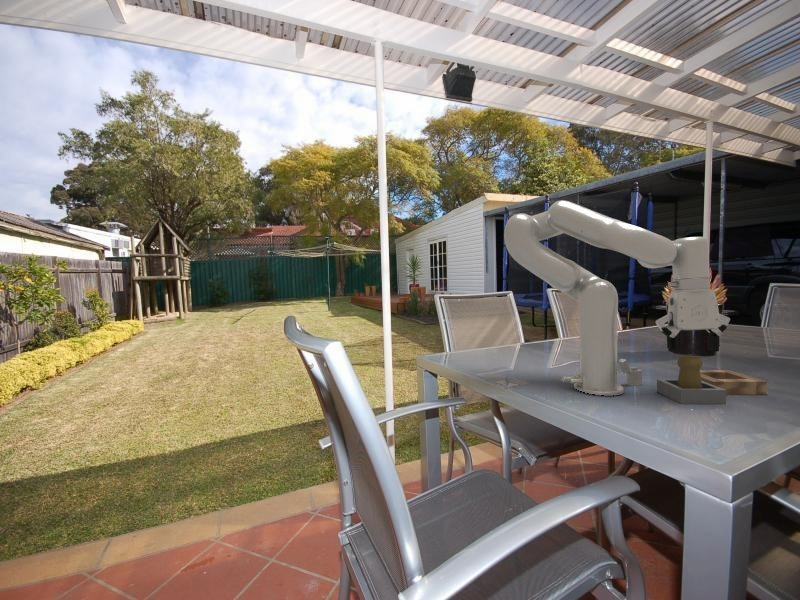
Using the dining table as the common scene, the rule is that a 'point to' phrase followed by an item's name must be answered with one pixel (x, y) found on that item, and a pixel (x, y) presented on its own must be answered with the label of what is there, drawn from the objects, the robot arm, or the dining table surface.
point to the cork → (689, 372)
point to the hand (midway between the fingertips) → (693, 351)
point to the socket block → (734, 382)
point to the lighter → (631, 373)
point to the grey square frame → (691, 393)
